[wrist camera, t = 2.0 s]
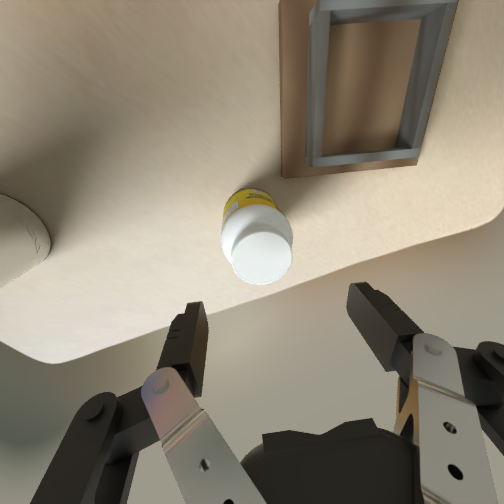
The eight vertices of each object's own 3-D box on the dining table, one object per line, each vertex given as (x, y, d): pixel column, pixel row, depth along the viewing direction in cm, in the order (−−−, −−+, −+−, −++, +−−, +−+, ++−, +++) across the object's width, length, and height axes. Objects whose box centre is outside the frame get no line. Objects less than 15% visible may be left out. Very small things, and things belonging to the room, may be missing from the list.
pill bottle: (285, 219, 27) (319, 267, 17) (243, 247, 29) (252, 307, 18) (257, 174, 25) (277, 200, 14) (211, 207, 26) (201, 252, 16)
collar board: (281, 176, 25) (290, 182, 21) (278, 4, 18) (290, -28, 15) (406, 163, 26) (435, 167, 22) (446, -7, 19) (496, -40, 16)
